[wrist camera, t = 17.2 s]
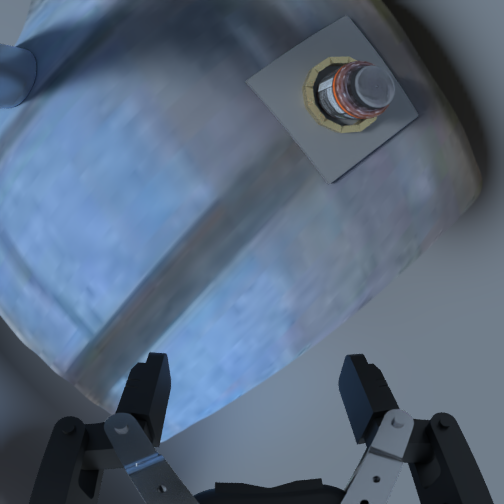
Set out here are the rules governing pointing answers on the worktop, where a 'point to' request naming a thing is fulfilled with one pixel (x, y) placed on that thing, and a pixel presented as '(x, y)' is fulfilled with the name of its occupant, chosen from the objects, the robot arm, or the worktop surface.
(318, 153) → the grey square plate
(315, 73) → the brass collar
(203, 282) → the worktop surface
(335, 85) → the supplement bottle
